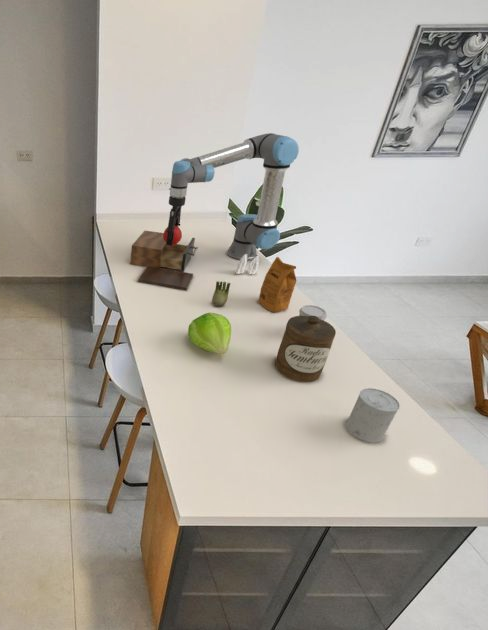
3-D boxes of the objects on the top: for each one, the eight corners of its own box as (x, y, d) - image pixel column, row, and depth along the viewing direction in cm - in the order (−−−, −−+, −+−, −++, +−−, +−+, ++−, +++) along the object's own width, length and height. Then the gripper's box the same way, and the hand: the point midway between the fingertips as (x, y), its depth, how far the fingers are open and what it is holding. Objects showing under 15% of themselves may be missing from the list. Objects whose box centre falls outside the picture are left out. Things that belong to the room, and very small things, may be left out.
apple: (182, 242, 212) (185, 222, 206) (178, 248, 205) (181, 228, 199) (164, 239, 215) (167, 220, 210) (160, 245, 208) (162, 225, 203)
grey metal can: (338, 419, 129) (352, 389, 123) (368, 417, 130) (383, 387, 123) (359, 444, 121) (375, 412, 115) (391, 441, 122) (408, 410, 115)
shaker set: (235, 276, 215) (240, 256, 209) (232, 273, 219) (236, 253, 213) (258, 274, 216) (262, 254, 210) (253, 271, 220) (258, 251, 214)
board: (192, 276, 216) (193, 273, 215) (186, 290, 202) (186, 287, 202) (147, 268, 224) (147, 266, 224) (138, 282, 211) (138, 279, 210)
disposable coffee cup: (316, 332, 171) (325, 306, 164) (320, 345, 163) (329, 318, 157) (290, 328, 173) (298, 302, 167) (293, 340, 166) (301, 314, 159)
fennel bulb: (226, 305, 190) (231, 281, 184) (222, 309, 187) (226, 285, 181) (214, 301, 193) (219, 277, 187) (209, 305, 190) (214, 281, 184)
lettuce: (198, 364, 153) (204, 333, 146) (180, 334, 171) (185, 305, 164) (238, 361, 155) (246, 331, 148) (217, 331, 172) (223, 302, 165)
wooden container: (280, 380, 145) (297, 326, 134) (270, 354, 158) (285, 304, 146) (326, 384, 143) (348, 330, 132) (312, 358, 156) (330, 307, 144)
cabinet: (170, 252, 243) (172, 234, 237) (159, 269, 224) (161, 249, 218) (143, 248, 249) (144, 230, 243) (130, 264, 230) (131, 245, 224)
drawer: (198, 255, 237) (200, 238, 232) (189, 272, 218) (192, 254, 213) (163, 250, 244) (165, 233, 239) (152, 266, 225) (154, 249, 220)
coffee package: (272, 298, 195) (284, 254, 184) (290, 311, 185) (304, 265, 173) (253, 300, 193) (264, 256, 182) (271, 314, 183) (283, 268, 171)
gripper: (175, 189, 207) (169, 233, 219) (163, 201, 191) (158, 247, 202) (190, 191, 204) (184, 235, 216) (180, 203, 188) (174, 250, 199)
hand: (171, 241), depth 209 cm, fingers closed on apple, 9 cm apart
